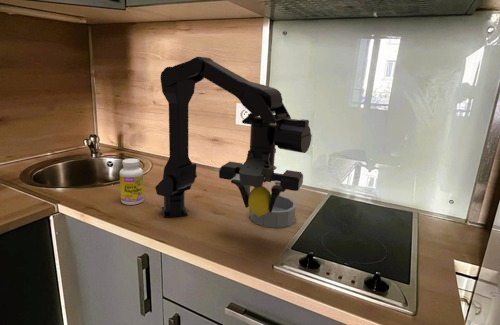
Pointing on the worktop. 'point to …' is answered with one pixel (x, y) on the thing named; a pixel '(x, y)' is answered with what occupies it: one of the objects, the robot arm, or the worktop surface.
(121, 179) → the supplement bottle
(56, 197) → the worktop surface
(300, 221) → the worktop surface
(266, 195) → the lemon
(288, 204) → the bowl
